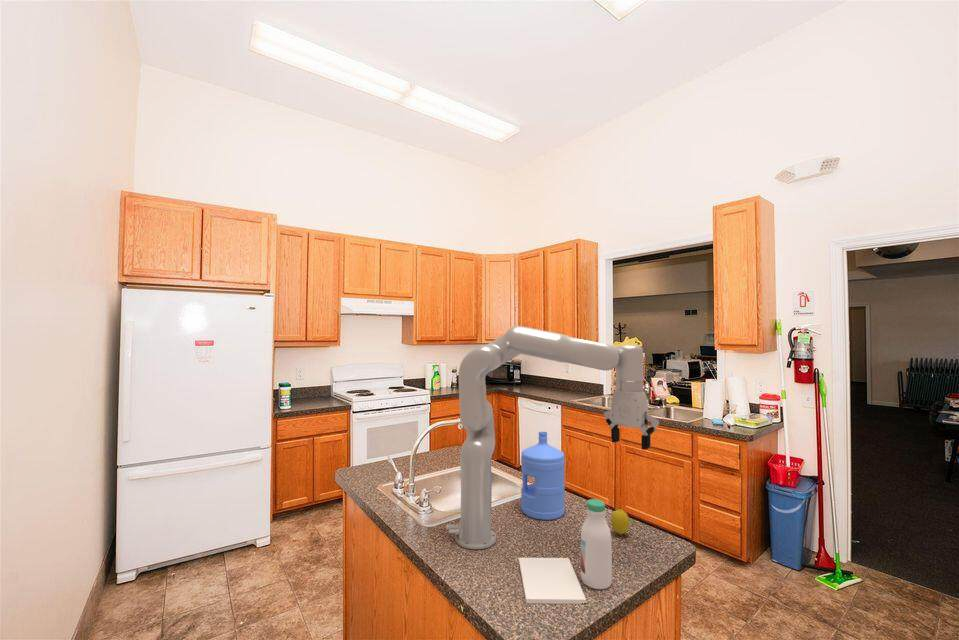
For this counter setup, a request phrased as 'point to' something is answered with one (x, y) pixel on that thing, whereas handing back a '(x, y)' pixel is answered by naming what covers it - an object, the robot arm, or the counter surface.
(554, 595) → the cutting board
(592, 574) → the milk bottle
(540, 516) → the water jug
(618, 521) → the lemon
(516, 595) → the counter surface
